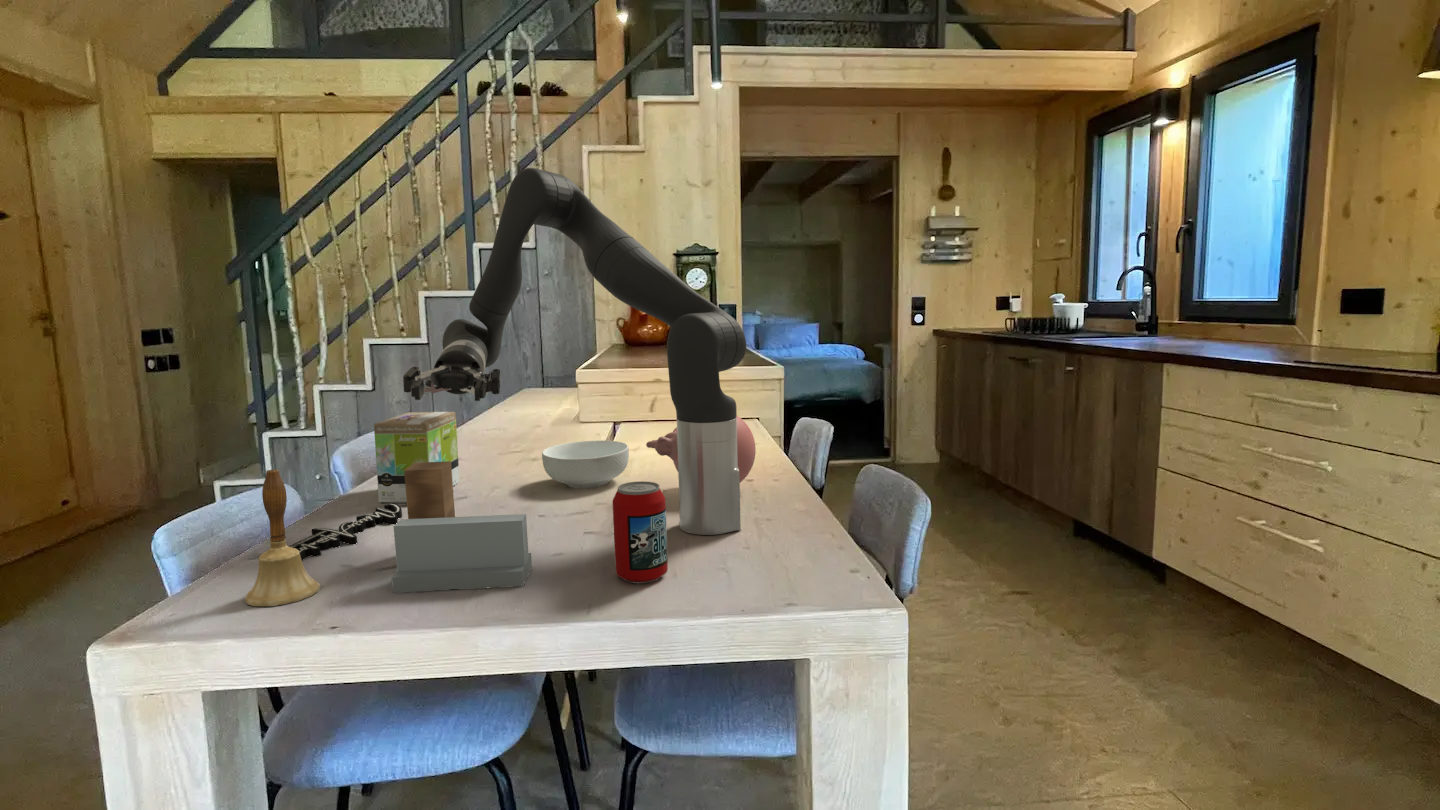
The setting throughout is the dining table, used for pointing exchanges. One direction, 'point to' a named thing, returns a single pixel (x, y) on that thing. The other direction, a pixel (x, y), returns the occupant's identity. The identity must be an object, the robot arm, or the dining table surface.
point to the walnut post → (429, 490)
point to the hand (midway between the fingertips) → (447, 394)
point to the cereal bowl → (585, 462)
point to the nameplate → (346, 531)
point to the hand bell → (279, 556)
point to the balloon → (744, 447)
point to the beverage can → (640, 532)
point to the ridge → (461, 553)
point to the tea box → (412, 448)
